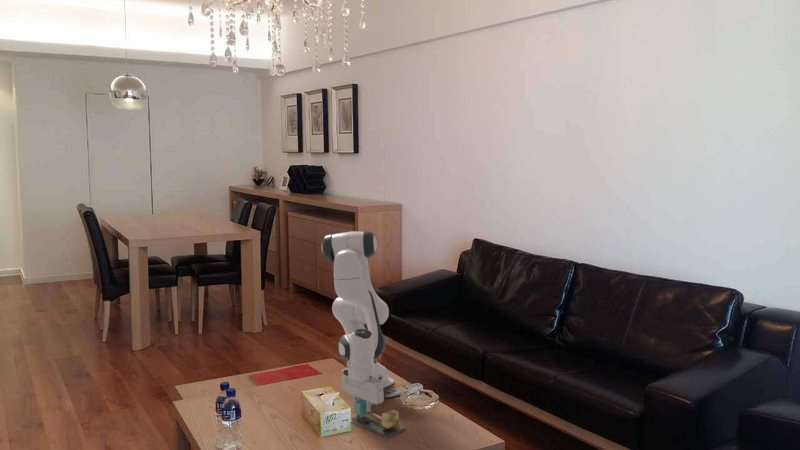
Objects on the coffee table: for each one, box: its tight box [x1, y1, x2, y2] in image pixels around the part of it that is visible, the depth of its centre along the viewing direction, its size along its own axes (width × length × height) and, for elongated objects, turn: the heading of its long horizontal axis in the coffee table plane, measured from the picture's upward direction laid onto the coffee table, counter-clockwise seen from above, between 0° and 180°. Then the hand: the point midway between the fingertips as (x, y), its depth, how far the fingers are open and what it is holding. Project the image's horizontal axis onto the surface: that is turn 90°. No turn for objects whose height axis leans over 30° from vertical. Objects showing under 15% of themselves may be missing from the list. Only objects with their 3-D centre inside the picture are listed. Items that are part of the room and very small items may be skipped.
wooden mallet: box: [362, 409, 402, 431], centre depth 247 cm, size 6×19×6 cm, turn 44°
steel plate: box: [351, 414, 407, 439], centre depth 247 cm, size 10×20×1 cm, turn 44°
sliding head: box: [354, 399, 372, 418], centre depth 252 cm, size 6×3×6 cm, turn 134°
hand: (362, 409), depth 252 cm, fingers open, 4 cm apart
